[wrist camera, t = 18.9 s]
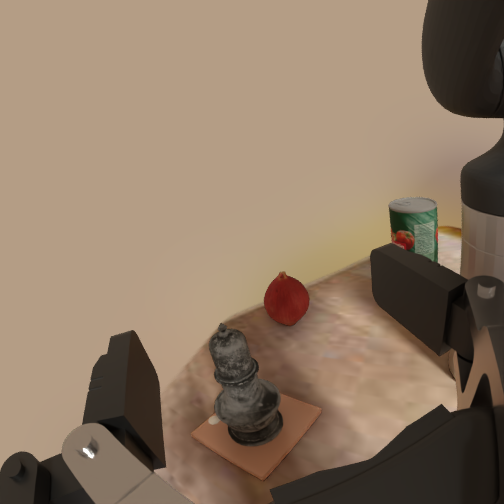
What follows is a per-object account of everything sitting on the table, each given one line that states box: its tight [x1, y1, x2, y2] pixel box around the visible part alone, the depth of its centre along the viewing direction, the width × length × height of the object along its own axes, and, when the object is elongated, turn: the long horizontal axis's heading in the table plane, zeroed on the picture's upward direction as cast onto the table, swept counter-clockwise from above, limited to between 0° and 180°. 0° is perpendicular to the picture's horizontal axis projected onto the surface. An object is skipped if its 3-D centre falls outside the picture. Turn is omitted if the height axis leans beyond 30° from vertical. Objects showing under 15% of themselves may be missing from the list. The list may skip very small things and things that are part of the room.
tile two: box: [191, 393, 322, 481], centre depth 27 cm, size 9×9×1 cm
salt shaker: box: [209, 323, 283, 447], centre depth 25 cm, size 6×6×12 cm
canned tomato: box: [389, 197, 438, 263], centre depth 46 cm, size 8×8×11 cm
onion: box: [264, 272, 309, 326], centre depth 41 cm, size 6×6×8 cm
